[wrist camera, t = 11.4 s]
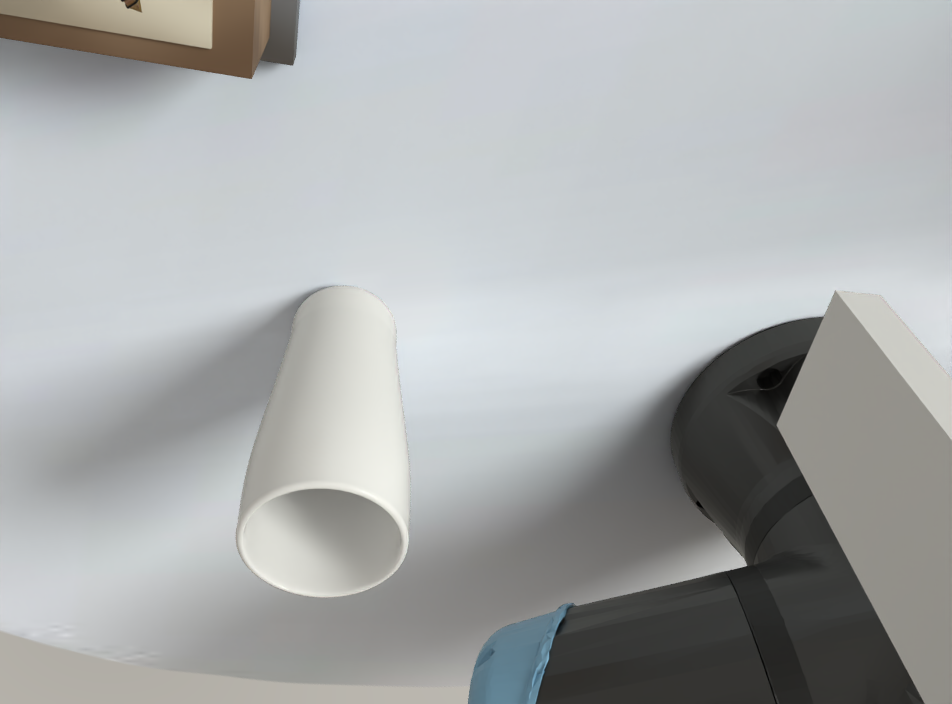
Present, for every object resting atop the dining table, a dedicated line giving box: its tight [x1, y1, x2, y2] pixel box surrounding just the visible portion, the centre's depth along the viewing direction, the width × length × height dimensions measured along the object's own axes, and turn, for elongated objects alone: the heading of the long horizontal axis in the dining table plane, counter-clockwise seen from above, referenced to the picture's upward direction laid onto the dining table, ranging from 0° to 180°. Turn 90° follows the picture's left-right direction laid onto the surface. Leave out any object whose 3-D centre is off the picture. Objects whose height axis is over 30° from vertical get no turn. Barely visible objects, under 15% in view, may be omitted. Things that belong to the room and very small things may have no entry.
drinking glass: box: [236, 286, 411, 598], centre depth 39 cm, size 7×7×15 cm
